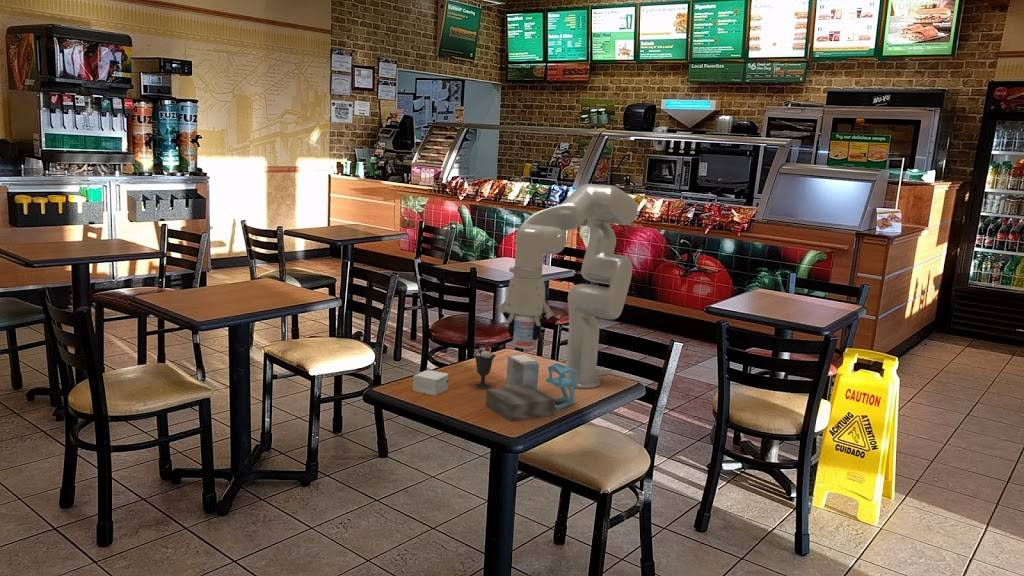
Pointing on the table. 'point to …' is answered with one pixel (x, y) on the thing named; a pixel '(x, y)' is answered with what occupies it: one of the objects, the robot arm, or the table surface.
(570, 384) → the chair
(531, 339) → the pill bottle
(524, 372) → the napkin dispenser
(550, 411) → the riser block
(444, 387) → the small box
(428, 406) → the table surface
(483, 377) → the sundae
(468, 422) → the table surface
